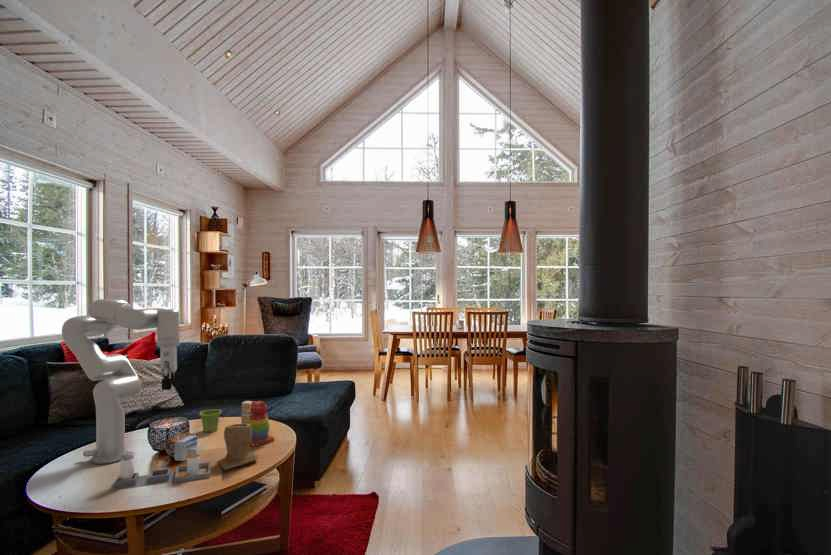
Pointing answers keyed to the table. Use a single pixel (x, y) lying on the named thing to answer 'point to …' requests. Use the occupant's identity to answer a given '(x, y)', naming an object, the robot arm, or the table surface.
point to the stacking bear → (259, 423)
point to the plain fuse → (127, 466)
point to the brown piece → (237, 446)
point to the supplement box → (246, 411)
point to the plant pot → (210, 420)
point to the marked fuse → (193, 460)
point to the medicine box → (184, 447)
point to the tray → (192, 477)
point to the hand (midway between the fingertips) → (168, 386)
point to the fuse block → (144, 479)
